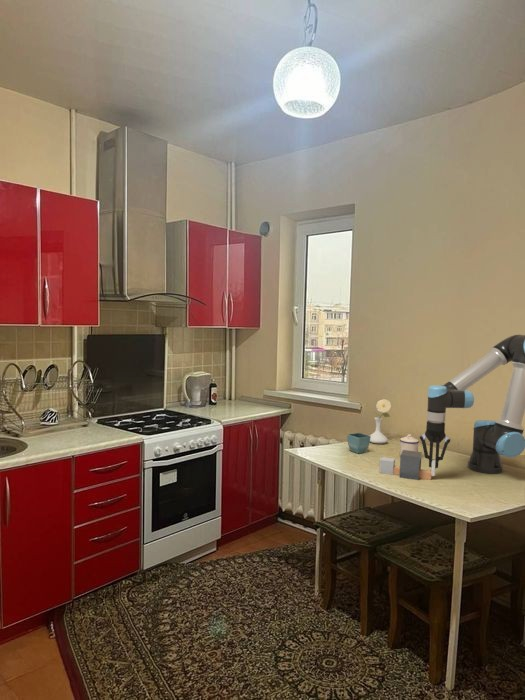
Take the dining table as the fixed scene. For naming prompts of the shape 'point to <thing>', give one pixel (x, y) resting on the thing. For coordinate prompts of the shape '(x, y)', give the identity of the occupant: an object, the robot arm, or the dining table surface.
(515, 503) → the dining table surface
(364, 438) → the flower pot
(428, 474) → the orange bar on cube
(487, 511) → the dining table surface
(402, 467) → the block
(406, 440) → the teacup with lid
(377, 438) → the flower in vase
